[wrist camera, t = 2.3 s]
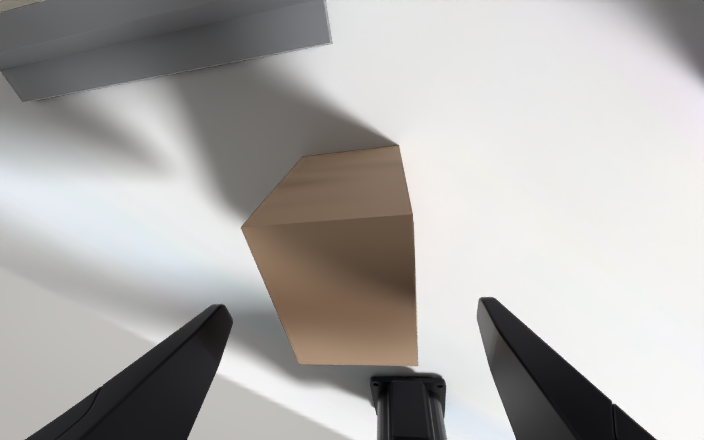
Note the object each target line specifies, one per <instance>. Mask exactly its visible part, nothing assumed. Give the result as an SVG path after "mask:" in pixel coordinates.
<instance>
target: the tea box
mask: <svg viewBox="0 0 704 440" xmlns="http://www.w3.org/2000/svg"><path fill="white" fill-rule="evenodd" d="M241 229H242V232H243V234H244V236H245V239H246V241H247V243H248V246H249V248H250V250H251V253H252V255H253V257H254V260H255V262H256V264H257V267H258V269H259V271H260V274H261V276H262V278H263V281H264V283H265V285H266V288H267V290H268V292H269V295H270V297H271V300H272V302H273V304H274V307H275V309H276V311H277V314H278V316H279V318H280V321H281V323H282V325H283V328H284V330H285V332H286V335H287V337H288V339H289V342H290V344H291V346H292V349H293V351H294V353H295V356H296V358H297V360H298V363H299V364H314V365H377V366H418V348H417V305H416V276H415V247H414V222H413V213H412V208H411V203H410V198H409V193H408V188H407V183H406V178H405V173H404V168H403V163H402V158H401V153H400V148H399V145H396V146H388V147H379V148H371V149H363V150H354V151H346V152H338V153H330V154H321V155H313V156H305V157H302V158H301V159H300V160H299V161H298V163H297V164H296V165H295V166H294V167H293V168H292V169H291V171H290V172H289V173H288V174H287V175H286V176H285V177H284V179H283V180H282V181H281V182H280V183H279V184H278V185H277V187H276V188H275V189H274V190H273V191H272V192H271V193H270V195H269V196H268V197H267V198H266V199H265V200H264V201H263V203H262V204H261V205H260V206H259V207H258V208H257V209H256V210H255V212H254V213H253V214H252V215H251V216H250V217H249V218H248V220H247V221H246V222H245V223H244V224H243V225H242V226H241Z"/></svg>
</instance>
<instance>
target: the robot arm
mask: <svg viewBox="0 0 704 440" xmlns="http://www.w3.org/2000/svg"><path fill="white" fill-rule="evenodd" d="M477 321H478V325H479V329H480V333H481V337H482V341H483V345H484V348H485V352H486V356H487V360H488V364H489V367H490V371H491V374H492V376H493V379H494V382H495V385H496V387H497V390H498V392H499V395H500V398H501V400H502V403H503V406H504V408H505V411H506V414H507V416H508V419H509V421H510V424H511V427H512V429H513V432H514V435H515V437H516V440H657V439H655V438H654V437H653V436H652V435H651V434H650V433H648V432H647V431H646V430H645V429H644V428H643V427H641V426H640V425H639V424H638V423H637V422H635V421H634V420H633V419H632V418H631V417H630V416H629V415H627V414H626V413H625V412H624V411H623V410H622V409H621V408H619V407H618V406H617V405H616V404H612V401H611V400H610V399H609V398H608V397H607V396H606V395H604V394H603V393H602V392H601V391H600V390H599V389H598V388H597V387H595V386H594V385H593V384H592V383H591V382H590V381H589V380H587V379H586V378H585V377H584V376H583V375H582V374H581V373H579V372H578V371H577V370H576V369H575V368H574V367H573V366H572V365H570V364H569V363H568V362H567V361H566V360H565V359H564V358H562V357H561V356H560V355H559V354H558V353H557V352H556V351H554V350H553V349H552V348H551V347H550V346H549V345H548V344H546V343H545V342H544V341H543V340H542V339H541V338H540V337H539V336H537V335H536V334H535V333H534V332H533V331H532V330H531V329H529V328H528V327H527V326H526V325H525V324H524V323H523V322H521V321H520V320H519V319H518V318H517V317H516V316H515V315H513V314H512V313H511V312H510V311H509V310H508V309H507V308H506V307H504V306H503V305H502V304H501V303H500V302H499V301H498V300H496V299H495V298H493V297H481V298H480V299H479V302H478V309H477ZM232 324H233V320H232V317H231V315H230V313H229V312H228V310H227V308H226V306H225V305H223V304H214V305H211V306H210V307H208V308H207V309H206V310H204V311H203V312H202V313H200V314H199V315H198V316H196V317H195V318H194V319H192V320H191V321H189V322H188V323H187V324H185V325H184V326H183V327H181V328H180V329H179V330H177V331H176V332H174V333H173V334H172V335H170V336H169V337H168V338H166V339H165V340H164V341H162V342H161V343H159V344H158V345H157V346H155V347H154V348H153V349H151V350H150V351H149V352H147V353H146V354H145V355H143V356H142V357H140V358H139V359H138V360H136V361H135V362H134V363H132V364H131V365H129V366H128V367H127V368H125V369H124V370H123V371H122V372H120V373H119V374H117V375H116V376H114V377H113V378H112V379H110V380H109V381H108V382H106V383H105V384H104V385H103V386H102V387H99V388H98V389H97V390H95V391H94V392H93V393H91V394H90V395H89V396H87V397H86V398H85V399H83V400H82V401H80V402H79V403H77V404H76V405H75V406H73V407H72V408H70V409H69V410H68V411H66V412H65V413H63V414H62V415H61V416H59V417H58V418H56V419H55V420H53V421H52V422H50V423H49V424H47V425H46V426H44V427H43V428H42V429H40V430H39V431H37V432H36V433H34V434H33V435H31V436H30V437H28V438H27V439H25V440H187V438H188V436H189V433H190V431H191V429H192V427H193V424H194V422H195V420H196V418H197V415H198V413H199V411H200V408H201V406H202V404H203V401H204V399H205V397H206V394H207V392H208V390H209V388H210V385H211V383H212V381H213V378H214V376H215V374H216V371H217V369H218V366H219V364H220V361H221V358H222V355H223V352H224V349H225V346H226V343H227V340H228V337H229V334H230V331H231V328H232ZM370 386H371V391H372V395H373V400H374V405H375V410H376V415H377V440H447V437H446V431H445V425H444V414H445V397H446V383H445V380H444V379H441V378H403V377H372V378H371V379H370Z"/></svg>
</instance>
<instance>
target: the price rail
mask: <svg viewBox="0 0 704 440" xmlns="http://www.w3.org/2000/svg"><path fill="white" fill-rule="evenodd" d="M328 44H332V38H331V31H330V25H329V18H328V12H327V6H326V0H41V1H40V2H37V3H34V4H30V5H26V6H23V7H19V8H15V9H11V10H8V11H4V12H1V11H0V71H1V72H2V74H3V75H4V76H5V78H6V79H7V81H8V82H9V83H10V85H11V86H12V88H13V89H14V90H15V92H16V93H17V95H18V96H19V97H20V99H21V100H22V102H28V101H36V100H41V99H46V98H52V97H57V96H62V95H67V94H73V93H78V92H83V91H88V90H93V89H99V88H104V87H109V86H114V85H119V84H125V83H130V82H135V81H140V80H145V79H151V78H156V77H161V76H166V75H171V74H177V73H182V72H187V71H192V70H197V69H203V68H208V67H213V66H218V65H223V64H229V63H234V62H239V61H244V60H250V59H255V58H260V57H265V56H270V55H276V54H281V53H286V52H291V51H296V50H302V49H307V48H312V47H317V46H322V45H328Z"/></svg>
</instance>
